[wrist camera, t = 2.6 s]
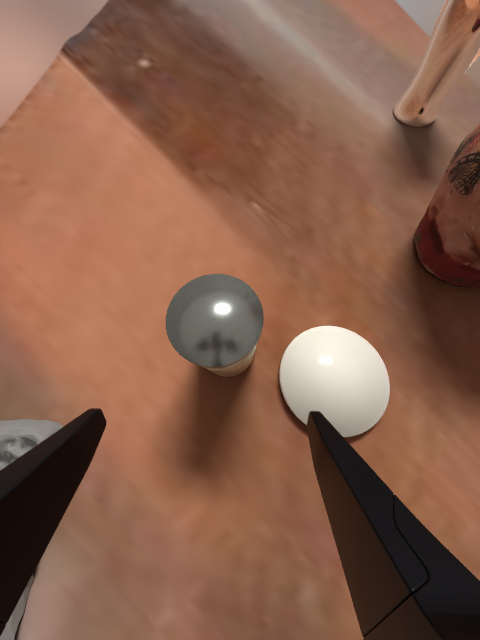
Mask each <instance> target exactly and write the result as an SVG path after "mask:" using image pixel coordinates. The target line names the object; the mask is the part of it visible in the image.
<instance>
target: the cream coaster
mask: <svg viewBox="0 0 480 640" xmlns="http://www.w3.org/2000/svg"><path fill="white" fill-rule="evenodd" d="M279 383H280V387H281V391H282V394H283V397H284V399H285V401H286V403H287V405H288V406H289V408H290V410H291V411H292V412H293V413H294V414H295V416H296V417H297V418H298V419H299V420H300V421H302V422H303V423H304V424H306V425H307V420H308V415H309V412H310V411H320V412H321V413H322V414H323V415H324V416H325V418H326V419H327V420H328V421H329V422H330V423H331V424H332V425H333V426H334V428H335V429H336V430H337V431H338V432H339V433H340V434H341V435H342V436H343V437H350V436H355V435H358V434H361V433H363V432H365V431H367V430H369V429H370V428H371V427H373V426H374V425H375V424H376V423H377V422H378V421H379V420H380V418H381V417H382V415H383V414H384V412H385V410H386V407H387V404H388V400H389V394H390V385H389V378H388V373H387V370H386V367H385V365H384V363H383V361H382V359H381V357H380V356H379V354H378V353H377V351H376V350H375V349H374V348H373V346H371V345H370V344H369V343H368V342H367V341H366V340H365V339H364V338H362V337H361V336H359V335H358V334H356V333H354V332H352V331H350V330H347V329H344V328H340V327H336V326H320V327H315V328H312V329H309V330H307V331H305V332H303V333H301V334H300V335H299V336H297V337H296V338H295V339H294V340H293V341H292V342H291V343H290V344H289V346H288V347H287V349H286V350H285V352H284V354H283V356H282V359H281V362H280V368H279Z"/></svg>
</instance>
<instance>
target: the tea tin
mask: <svg viewBox="0 0 480 640" xmlns="http://www.w3.org/2000/svg"><path fill="white" fill-rule="evenodd" d="M263 319H264V318H263V309H262V305H261V302H260V300H259V298H258V296H257V295H256V293H255V292H254V291H253V289H252V288H251V287H250V286H248V285H247V284H246V283H245V282H243V281H242V280H240V279H238V278H235V277H233V276H229V275H224V274H210V275H204V276H201V277H198V278H196V279H193V280H192V281H190V282H188V283H187V284H185V285H184V286H183V287H182V288H181V289H180V290H179V291H178V292H177V293H176V294H175V296H174V297H173V299H172V301H171V302H170V304H169V307H168V310H167V314H166V330H167V335H168V338H169V340H170V342H171V344H172V346H173V347H174V348H175V350H176V351H177V352H178V353H179V354H180V355H181V356H182V357H184V358H185V359H187V360H188V361H190V362H192V363H194V364H196V365H199V366H202V367H204V368H206V369H208V370H209V371H211V372H213V373H214V374H216V375H219V376H223V377H231V376H236V375H238V374H240V373H242V372H244V371H245V370H246V369H247V368H248V367H249V366H250V364H251V362H252V360H253V358H254V354H255V350H256V345H257V342H258V340H259V338H260V335H261V332H262V327H263Z"/></svg>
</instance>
